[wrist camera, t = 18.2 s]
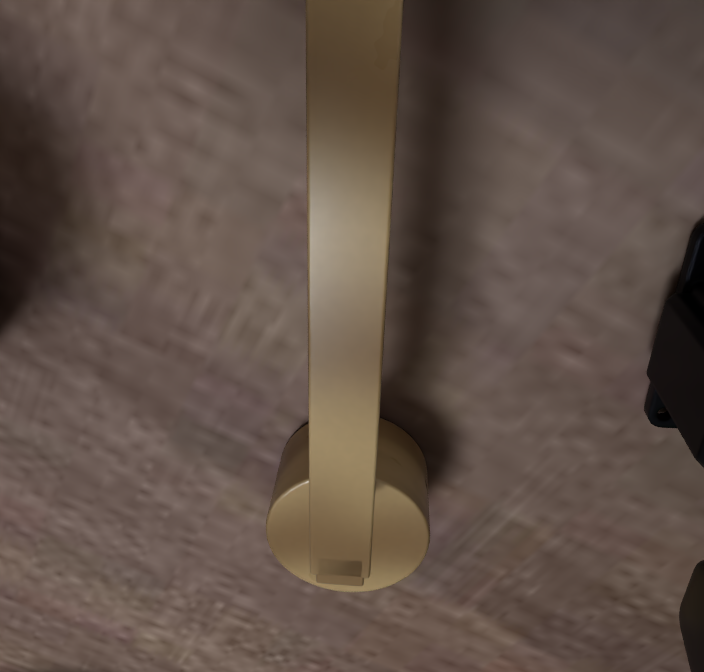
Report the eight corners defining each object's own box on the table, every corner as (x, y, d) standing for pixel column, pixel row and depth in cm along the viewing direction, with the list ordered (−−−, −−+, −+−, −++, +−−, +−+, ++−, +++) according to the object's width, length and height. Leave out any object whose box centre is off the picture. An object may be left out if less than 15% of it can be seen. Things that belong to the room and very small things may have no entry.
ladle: (261, -83, 15) (183, -101, 10) (486, -77, 15) (533, -91, 9) (282, 519, 24) (248, 680, 19) (420, 529, 24) (425, 694, 19)
